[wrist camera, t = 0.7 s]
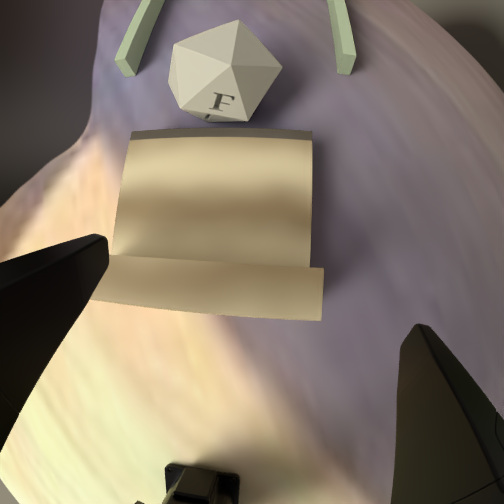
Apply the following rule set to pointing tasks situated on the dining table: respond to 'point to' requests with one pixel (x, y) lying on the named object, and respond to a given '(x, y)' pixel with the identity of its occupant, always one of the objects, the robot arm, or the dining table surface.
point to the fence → (151, 8)
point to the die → (222, 73)
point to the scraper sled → (216, 224)
